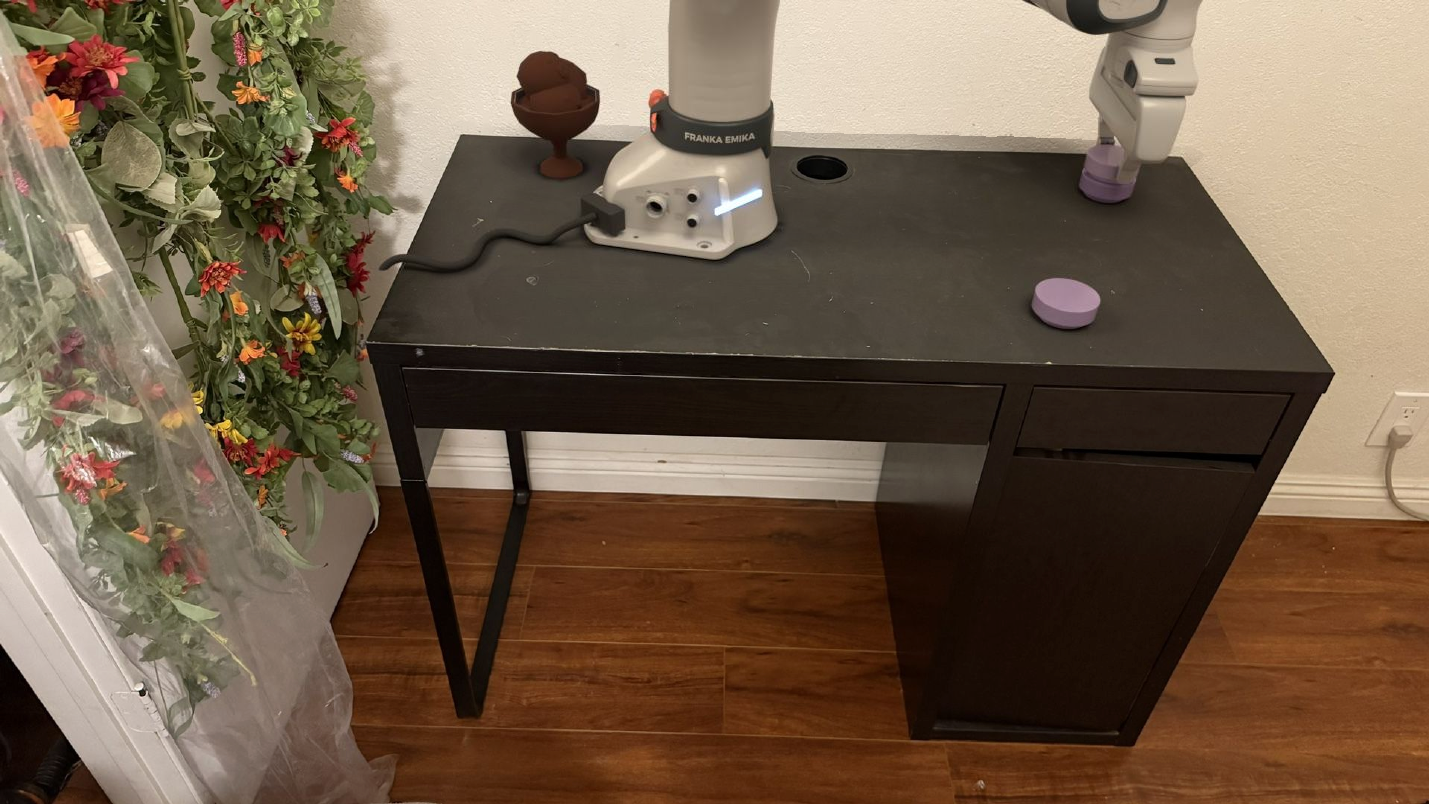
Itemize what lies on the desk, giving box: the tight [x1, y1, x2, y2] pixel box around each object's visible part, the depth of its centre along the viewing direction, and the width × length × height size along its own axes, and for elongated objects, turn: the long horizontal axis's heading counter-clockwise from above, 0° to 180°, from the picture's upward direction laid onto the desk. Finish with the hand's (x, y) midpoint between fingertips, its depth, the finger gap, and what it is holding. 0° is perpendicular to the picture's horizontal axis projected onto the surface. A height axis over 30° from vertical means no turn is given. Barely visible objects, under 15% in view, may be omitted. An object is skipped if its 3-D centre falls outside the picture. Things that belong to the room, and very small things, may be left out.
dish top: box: [1083, 144, 1142, 184], centre depth 121 cm, size 6×6×3 cm
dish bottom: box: [1078, 167, 1137, 204], centre depth 123 cm, size 6×6×3 cm
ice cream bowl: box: [510, 50, 601, 179], centre depth 121 cm, size 11×11×15 cm
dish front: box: [1031, 277, 1101, 330], centre depth 101 cm, size 6×6×3 cm
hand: (1112, 166), depth 121 cm, fingers open, 7 cm apart
